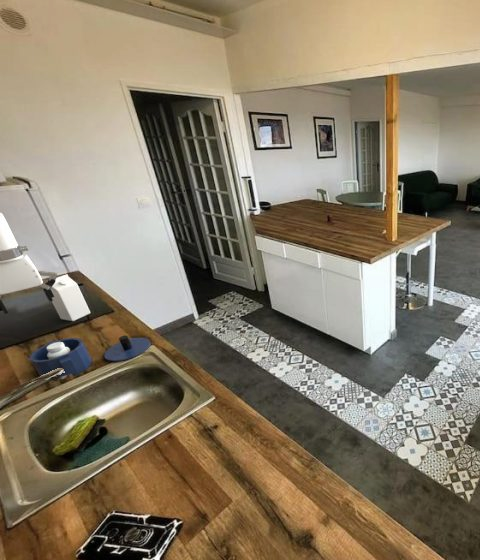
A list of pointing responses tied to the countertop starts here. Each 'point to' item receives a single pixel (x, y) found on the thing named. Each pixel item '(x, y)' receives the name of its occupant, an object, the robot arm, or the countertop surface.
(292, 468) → the countertop surface
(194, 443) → the countertop surface
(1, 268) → the robot arm
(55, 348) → the supplement bottle
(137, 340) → the pot lid
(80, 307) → the milk carton
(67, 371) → the pot
